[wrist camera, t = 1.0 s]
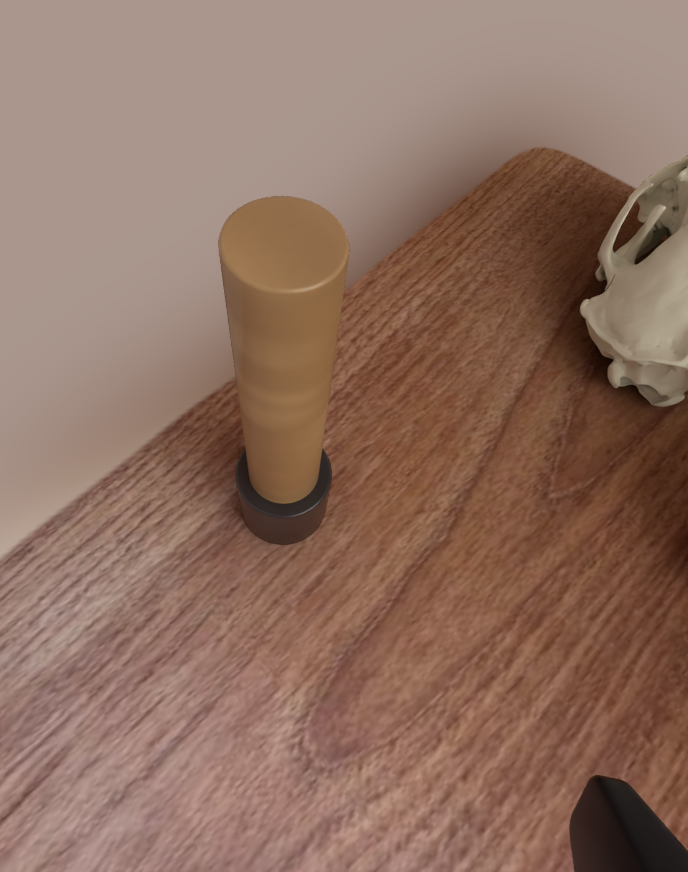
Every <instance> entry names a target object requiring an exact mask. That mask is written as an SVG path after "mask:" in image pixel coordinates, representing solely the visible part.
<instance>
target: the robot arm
mask: <svg viewBox="0 0 688 872" xmlns="http://www.w3.org/2000/svg"><path fill="white" fill-rule="evenodd" d="M570 842H571V849H572V857H573V864H574V871H575V872H688V851H687V850H686V849H685V848H684V846H683V845H682V844H681V843H680V842H679V841H678V840H677V838H676V837H675V836H674V835H673V834H672V833H671V832H670V830H669V829H668V828H667V827H666V826H665V825H664V823H663V822H662V821H661V820H660V819H659V818H658V817H657V815H656V814H655V813H654V812H653V811H652V810H651V809H650V807H649V806H648V805H647V804H646V803H645V802H644V801H643V799H642V798H641V797H640V796H639V795H638V794H637V793H636V791H635V790H634V789H633V788H632V787H631V786H630V785H629V784H628V783H626V782H625V781H623V780H620V779H615V778H610V777H606V776H601V775H595V776H593V777H591V778H590V779H589V781H588V783H587V785H586V787H585V789H584V791H583V793H582V795H581V797H580V799H579V801H578V803H577V805H576V807H575V809H574V811H573V813H572V816H571V820H570Z"/></svg>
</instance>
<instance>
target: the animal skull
mask: <svg viewBox="0 0 688 872" xmlns="http://www.w3.org/2000/svg"><path fill="white" fill-rule="evenodd" d="M636 200H637V202H638V204H639V207H640V211H639V214H638V220H639V221H640V222H643V223H644V225H643V226H642V227H641V228H640V229H639V230H638V232H637V233H636V234H635V235H634V236H633V238H632V239H631V240H630V241H629V242H628V243H626V244H625V245H624V246H622V247H621V248H619V249H618V250H617V251H616V252H615V253H614V251H613V249H612V248H613V244H614V242H615V239H616V236H617V234H618V232H619V229H620V227H621V225H622V223H623V222H624V220H625V218H626V216H627V215H628V212H629V210H630V209H631V207H632V205H633V203H634V202H635V201H636ZM666 233H667V240H666V241H664V242H663V243H662V244H661V245H660V246H658V247H657V248H656V249H655V250H654V251H653V252H652V253H651V254H650V255H649V256H648V257H647V258H646V259H644V260H643V261H642V262H640V263H639V264H637V265H635V260H636V259H638V258H639V257H641V256H643V255H645V254H646V253H647V252H648V251H650V250H651V249H653V248H654V247H655V246H656V245H657V244H658V243H659V241H660V240H661V239H662V238H663V237H664V235H665V234H666ZM598 260H599V261H600V266H599V268H598V269H597V271H596V272H595V275H596V278H597V280H598V281H603V280H605V279H606V278H607V286H606V288H605V289H604V290H606V291H605V292H604V293H602V294H601V295H598V296H596V297H593V298H591V299H590V300H589V299H586V300H584V301H583V302H582V304H581V306H580V313H581V315H582V316H583V317H584V318H585V319H586V325H587V328H588V331H589V335H590V337H591V338H592V340H593V341H594V342H595V344H596V345H597V347H598V348H599V350H600V352H601V354H602V355H603V356H605V357H607V358H611V359H614V361H613V362H612V363H611V364H610V365H609V367H608V379H609V382H610V383H611V385H612V386H613V387H614V388H618V387H619V386H622V387H624V386H627V385H635V386H637V387H638V390H639V393H640V394H641V395H642V396H644V397H645V398H646V399H647V400H648V401H649V402H650V404H651V405H654V406H659V407H667V406H670V405H674V404H676V403H678V402H680V401H682V400H683V399H684V398H685V394H684V393H685V392H686V391H688V155H687V156H685V157H684V158H683V159H682V160H681V161H679V162H675V163H672V164H670V165H668V166H667V167H665V168H664V169H662V170H660V171H658V172H657V173H655V174H653V175H651V176H649V177H648V178H647V179H646V180H644V181H643V183H642V184H641V185H640V186H639V187H638V188H637V189H636V190H635V191H634V192H633V193H632V194H631V195H630V196H629V197H628V201H627V202H626V204H625V205H624V207H623V208H622V209H621V211H620V212H619V214H618V215H617V217H616V219H615V221H614V222H613V224H612V226H611V228H610V230H609V232H608V233H607V235H606V237H605V239H604V241H603V242H602V244H601V247H600V251H599V252H598Z"/></svg>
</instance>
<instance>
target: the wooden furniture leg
mask: <svg viewBox="0 0 688 872" xmlns="http://www.w3.org/2000/svg"><path fill="white" fill-rule="evenodd" d="M218 247H219V256H220V263H221V271H222V277H223V286H224V293H225V300H226V308H227V315H228V323H229V329H230V338H231V345H232V352H233V360H234V367H235V375H236V382H237V390H238V397H239V405H240V412H241V420H242V427H243V434H244V442H245V449H244V450H243V452H242V453H241V455H240V457H239V459H238V462H237V466H236V475H235V476H236V484H237V489H238V494H239V500H240V505H241V510H242V515H243V518H244V521H245V523H246V524H247V526H248V527H249V529H250V530H251V531H252V532H253V533H254V534H255V535H256V536H258V537H259V538H261V539H262V540H264V541H267V542H269V543H273V544H279V545H287V544H293V543H297V542H300V541H302V540H304V539H306V538H308V537H309V536H310V535H312V534H313V533H314V532H315V531H316V530H317V528H318V527H319V526H320V524H321V522H322V520H323V518H324V515H325V511H326V506H327V501H328V496H329V490H330V485H331V479H332V469H331V464H330V461H329V458H328V456H327V454H326V452H325V451H324V449H323V448H322V447H323V440H324V433H325V425H326V418H327V411H328V404H329V396H330V389H331V382H332V375H333V368H334V360H335V353H336V346H337V339H338V331H339V324H340V317H341V310H342V302H343V295H344V288H345V281H346V273H347V266H348V258H349V251H350V249H349V240H348V237H347V234H346V232H345V229H344V228H343V226H342V224H341V223H340V222H339V220H338V219H337V218H336V217H335V216H334V215H333V214H332V213H330V212H329V211H328V210H326V209H325V208H323V207H321V206H320V205H318V204H315V203H313V202H311V201H308V200H305V199H301V198H296V197H289V196H273V197H266V198H261V199H258V200H254V201H252V202H249V203H247V204H245V205H243V206H242V207H240V208H238V209H237V210H236V211H235V212H233V213H232V214H231V215H230V217H229V218H228V219H227V220H226V222H225V223H224V225H223V228H222V230H221V232H220V235H219V241H218Z"/></svg>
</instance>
